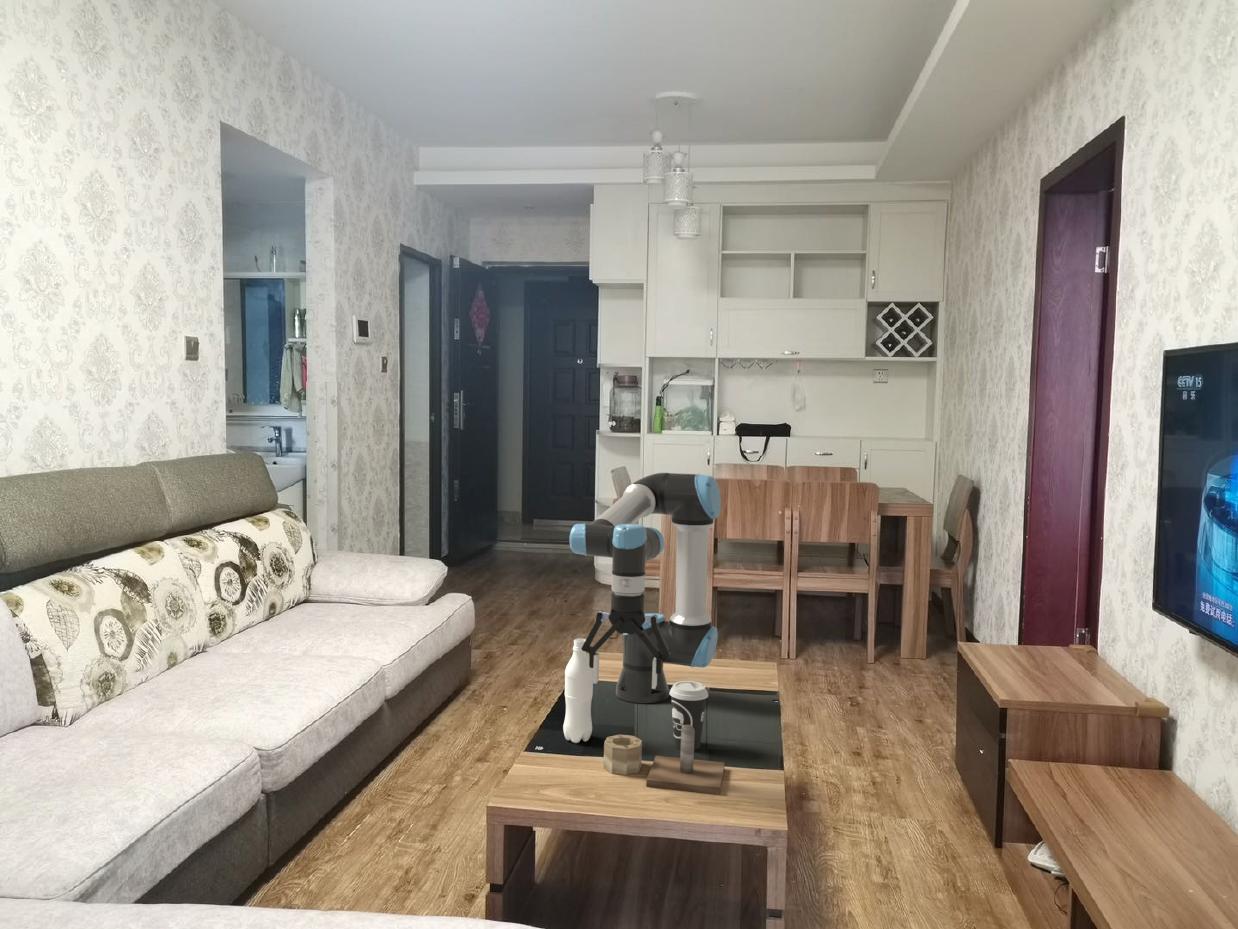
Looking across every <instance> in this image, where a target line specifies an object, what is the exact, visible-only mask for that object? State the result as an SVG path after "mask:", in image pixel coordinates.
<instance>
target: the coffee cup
mask: <svg viewBox="0 0 1238 929" xmlns="http://www.w3.org/2000/svg"><path fill="white" fill-rule="evenodd" d="M668 695H669V696H671V713H672V714H671V717H672V733H673V734H672V735H673V736H672V737H673V746H674V747H675V748H676V749H678V750H680V751H681V730H682V728H683V726H685V725H691V726H692V727H693V728H694V731H695V736H694V751H697V750H699V749H700V748H701V743H702V737H703V736H702V735H703V727H704V720H705V718H704V717H705V710H706V703H707V702H706V701H707V698H709V692H708V690H707V688H706V685H705V684H704V683H702V682H699V681H693V680H683V681H682V680H680V681H676V682H674V683H673V684H672V687H671V689H670V690H669V692H668Z"/></svg>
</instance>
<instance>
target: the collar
mask: <svg viewBox="0 0 1238 929" xmlns="http://www.w3.org/2000/svg"><path fill="white" fill-rule="evenodd" d="M642 752H643V740H641V739H640V738H638V737H636V736H634V735H629V734H616V735H611V736H607V737H606V739H605V740H604V744H603V769H604V770H606V771H608V772H609V773H610V774H614V775H615V774H616V775H624V776H628V775H631V774H636V773H638V772H640V771H641V768H642V756H643V755H642Z"/></svg>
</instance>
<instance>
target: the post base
mask: <svg viewBox="0 0 1238 929" xmlns="http://www.w3.org/2000/svg"><path fill="white" fill-rule="evenodd" d="M694 736H695V731H694V728H693V727H692V726H691V725H685V726H683V728H682V730H681V750H680V754H679V755H680V757H676V756H675V757H672V756H666V755H665V756H664V755H655V757H654V759H653V763H652V764H651V767H650V770H649V772H648V776H647V778H646V784H645V785H646V787H650V788H659V789H667V790H676V791H685V792H695V793H704V794H713V795H721V788H722V783H723V779H724V778H723V777H724V772H725V762H722V761H712V760H705V759H704V760H702V759H694V758H695V755H694V754H695V750H694Z"/></svg>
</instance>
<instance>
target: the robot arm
mask: <svg viewBox="0 0 1238 929" xmlns="http://www.w3.org/2000/svg"><path fill="white" fill-rule="evenodd" d="M721 506H722V499H721V490H720V487H719V484H718V482H717V480H716V479H715V477H713V476H712V475H707V474H706V475H705V474H700V473H699V474H697V473H672V472H658V473H654V474H649V475H647V476H644V477H642V478H639V479H638V480H636V481H634V482H633V483H631V484H630V485H629V486H627V488H625V490H624V491H623V494H622V496H621V497H620V498H619V499H618V500H617V501H616V502H614V503H613V504H612V505H611V506H609V507H608V508H607V509H606V510H605V511H604V512H603V513H601V514H600V515H599V516H598V517H597V518H596V519H594V520H593V521H592V522H590V523H589V524H588V523H576V524H574V525H573V526H572V528H571V530H570V532H569V539H568V540H569V547H570V550H571V551H572V553H574V554H576V555H582V556H585V557H587V556H589V557H602V558H612V563H611V564H612V569H611V591H612V593H611V596H610V612H609V613H608V612H605V611H604V610H599V611H598V613H596V619H595V623H594V624H593V626H592V628H591V630H590V632H589V634H588V635H587V637H586V638H585V640H586V641H585V643H584V644H583V646H582V651H586V653H588V655H589V656H588V657H589V658H588V659H589V667H590V668H593V685H594V684H595V685H597V683H598V682H599V681H600V680H599V679H600V678H599V677H600V652H598V650H599V649H600V648H601V647H602V646H603V644H604V643H605V642H607V640H609V638H610V637H611V636H612V635H613V634H614V633H615V632H617V633H618V634H621V635H623V641H622V642H623V643H622V646H623V647H622V650H623V651H622V669H621V672H620V674H619V677H618V681H617V682H616V686H615V695H616V697H617V698H618V699H620V700H622V701H624V702H625V701H626V702H630V703H636V704H653V703H654V704H655V703H659V702H663V701H665V700H667V699H668V698H669V691H670V690H669V686H668V682H667V679H666V678H667V677H666V675H665V670H664V663H665V664H668V665H669V664H670V665H671V664H672V665H679V666H684V667H689V668H690V667H691V668H706V667H708V666H709V665H710V664H711V662H712V660H713V657H714V655H715V652H716V648H717V645H718V644H717V643H718V637H719V636H718V635H719V632H718V628H717V627H715V626H714V625H712V618H711V617H710V615H709V614H707V583H708V579H707V577H708V545H709V544H708V540H709V539H708V538H709V529H710V528H711V527H712V526H713V525H714V521H715V520H714V519H718V518H719V517H720V514H721ZM654 514H657V515H669V516H671V524H672V525H673V526H674V527H675V528H676V559H675V560H676V562H675V563H676V564H675V572H676V573H675V575H676V577H675V611H674V613H673V614H672V615H671V616H670V617H669V621H666V617H665V615H664V614H663V613H662V614H661V613H657V612H656V613H650V612H649V613H645V595H644V592H645V591H646V590H645V589H646V587H645V586H646V562H648V561H651V560H654V559H656V558H657V556H658V555H660V554H661V553H662V551H663V549H664V546H665V539H664V536H663V534H662V533H661V531H660V530H659V529H657V528H655V527H651V526H649V527H648V526H644V525H643V524H636V523H637V522H638V521H639V520H640V519H642V518H646V517H648V516H650V515H654ZM607 620H608V621H609V622H610V624H611V625H612V626H611V627H610V628H609V629H608V630H607V631H606V632H605V633H604V634H603V635H602V636H601V637H600V638H599V640H598V641H597V642H595V643H594V645H591V644H592V642H593V640H594V638H595V637H596V635H597V633H598V631H599V629H600V628H601V626H602V624H603V623H605V622H606V621H607Z"/></svg>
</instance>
